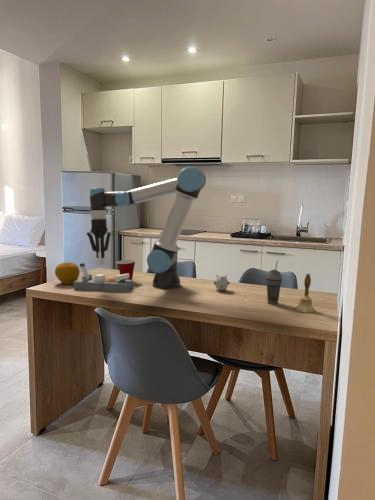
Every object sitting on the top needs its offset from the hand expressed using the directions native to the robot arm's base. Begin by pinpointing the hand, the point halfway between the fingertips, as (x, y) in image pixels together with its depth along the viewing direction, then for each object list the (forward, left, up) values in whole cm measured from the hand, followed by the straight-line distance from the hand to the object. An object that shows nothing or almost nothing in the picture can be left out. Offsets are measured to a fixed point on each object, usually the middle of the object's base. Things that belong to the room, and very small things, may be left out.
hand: (100, 264), depth 187 cm
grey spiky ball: (-62, -6, -13) cm, 64 cm away
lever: (+8, 0, -8) cm, 11 cm away
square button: (+1, 0, -10) cm, 10 cm away
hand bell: (-99, +21, -13) cm, 102 cm away
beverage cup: (-86, +13, -13) cm, 88 cm away
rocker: (-11, 0, -6) cm, 13 cm away
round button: (-5, 0, -11) cm, 13 cm away
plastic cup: (-8, -17, -13) cm, 23 cm away
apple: (+22, -7, -13) cm, 26 cm away
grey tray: (-1, 0, -13) cm, 13 cm away
